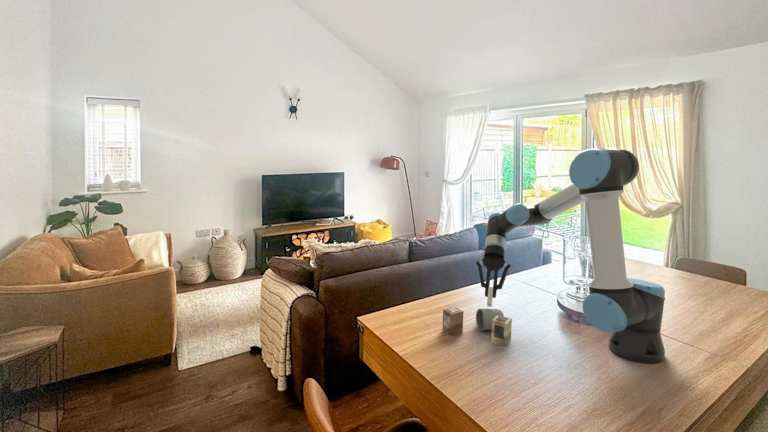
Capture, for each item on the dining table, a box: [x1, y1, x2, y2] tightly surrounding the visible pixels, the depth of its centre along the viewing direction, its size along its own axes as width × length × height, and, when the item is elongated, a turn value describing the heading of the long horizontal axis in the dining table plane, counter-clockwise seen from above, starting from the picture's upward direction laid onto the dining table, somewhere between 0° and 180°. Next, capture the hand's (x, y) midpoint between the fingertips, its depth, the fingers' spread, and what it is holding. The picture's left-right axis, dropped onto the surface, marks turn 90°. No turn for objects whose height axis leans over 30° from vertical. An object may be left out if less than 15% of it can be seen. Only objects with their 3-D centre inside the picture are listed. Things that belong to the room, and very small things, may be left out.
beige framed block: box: [490, 315, 513, 347], centre depth 132 cm, size 5×5×8 cm
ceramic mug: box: [475, 307, 505, 332], centre depth 144 cm, size 11×8×8 cm
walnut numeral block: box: [441, 306, 464, 337], centre depth 140 cm, size 5×5×8 cm
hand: (489, 305), depth 142 cm, fingers closed
